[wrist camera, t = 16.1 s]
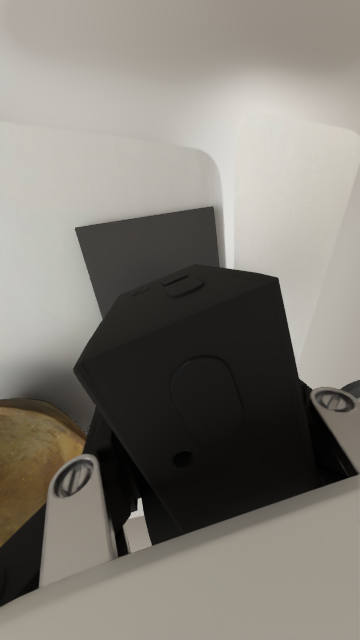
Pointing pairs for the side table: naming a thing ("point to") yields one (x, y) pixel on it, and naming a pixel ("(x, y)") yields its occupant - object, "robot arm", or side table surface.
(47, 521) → the robot arm
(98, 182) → the side table surface
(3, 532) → the bowl
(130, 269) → the scale
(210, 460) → the digital camera
